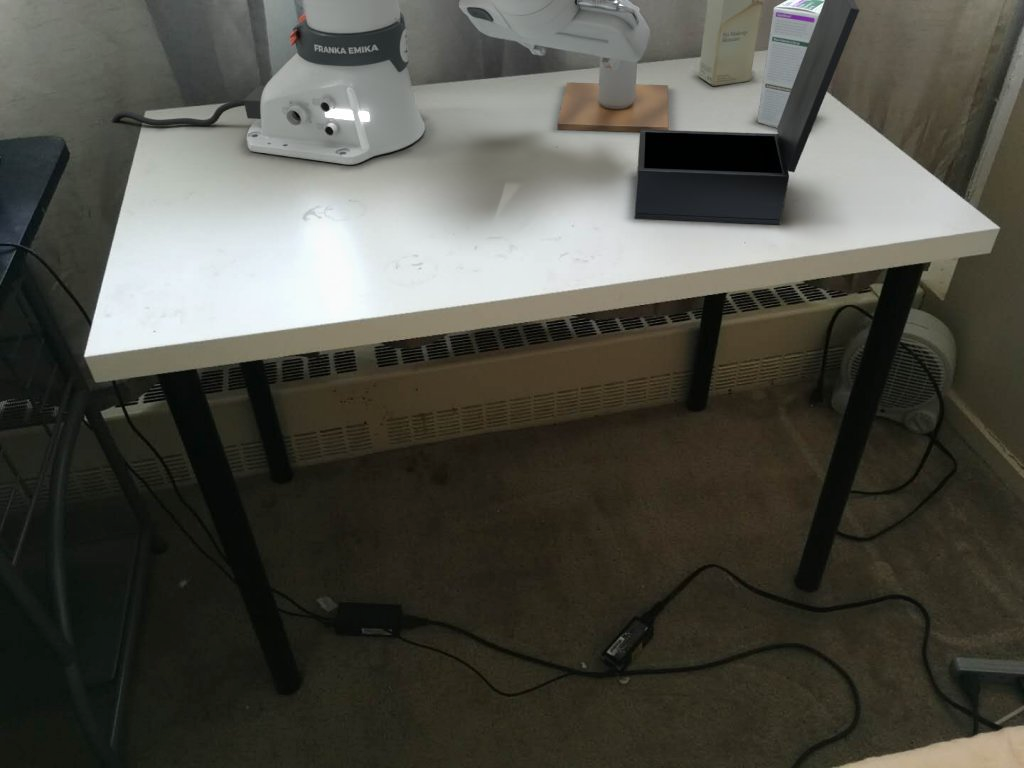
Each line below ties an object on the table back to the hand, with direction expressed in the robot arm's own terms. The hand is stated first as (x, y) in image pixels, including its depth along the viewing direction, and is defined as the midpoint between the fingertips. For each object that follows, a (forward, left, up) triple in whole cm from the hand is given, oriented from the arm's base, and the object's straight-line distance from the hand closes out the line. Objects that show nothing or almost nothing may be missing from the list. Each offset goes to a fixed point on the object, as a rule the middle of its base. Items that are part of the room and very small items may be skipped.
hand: (577, 56), depth 101 cm
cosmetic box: (+19, +22, -11) cm, 31 cm away
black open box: (+15, -14, -10) cm, 23 cm away
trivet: (+4, +10, -10) cm, 15 cm away
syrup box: (+26, +8, -11) cm, 30 cm away
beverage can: (+5, +10, -10) cm, 15 cm away
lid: (+24, -14, +4) cm, 28 cm away
